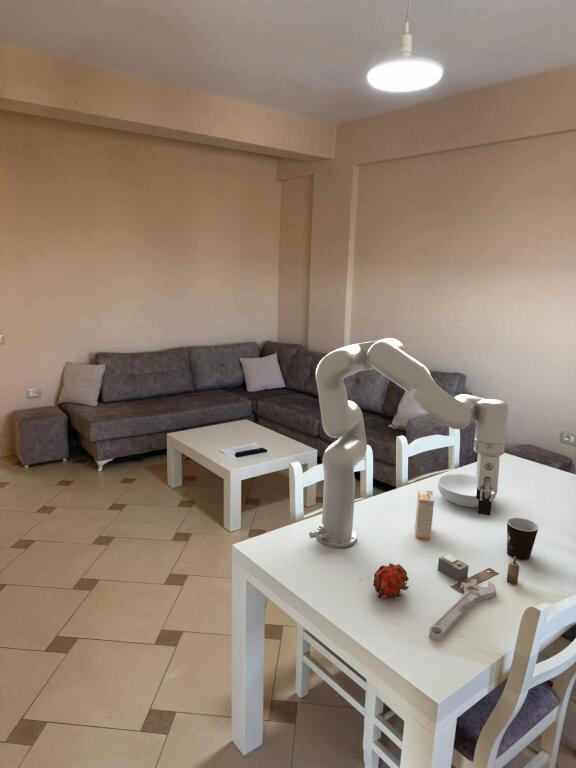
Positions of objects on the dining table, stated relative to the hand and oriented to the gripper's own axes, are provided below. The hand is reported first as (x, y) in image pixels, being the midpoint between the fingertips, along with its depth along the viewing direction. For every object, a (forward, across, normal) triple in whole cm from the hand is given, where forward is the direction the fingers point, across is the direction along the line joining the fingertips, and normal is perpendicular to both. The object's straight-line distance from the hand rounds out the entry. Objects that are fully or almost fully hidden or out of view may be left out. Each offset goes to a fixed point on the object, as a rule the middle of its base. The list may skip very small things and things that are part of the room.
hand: (483, 506), depth 145 cm
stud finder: (+21, 0, +6) cm, 22 cm away
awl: (+21, +1, -9) cm, 23 cm away
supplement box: (+21, +21, +16) cm, 34 cm away
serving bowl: (+21, +51, +2) cm, 55 cm away
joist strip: (+21, -1, 0) cm, 21 cm away
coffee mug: (+22, +19, -13) cm, 31 cm away
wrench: (+20, -16, +7) cm, 27 cm away
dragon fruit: (+21, -16, +22) cm, 34 cm away
